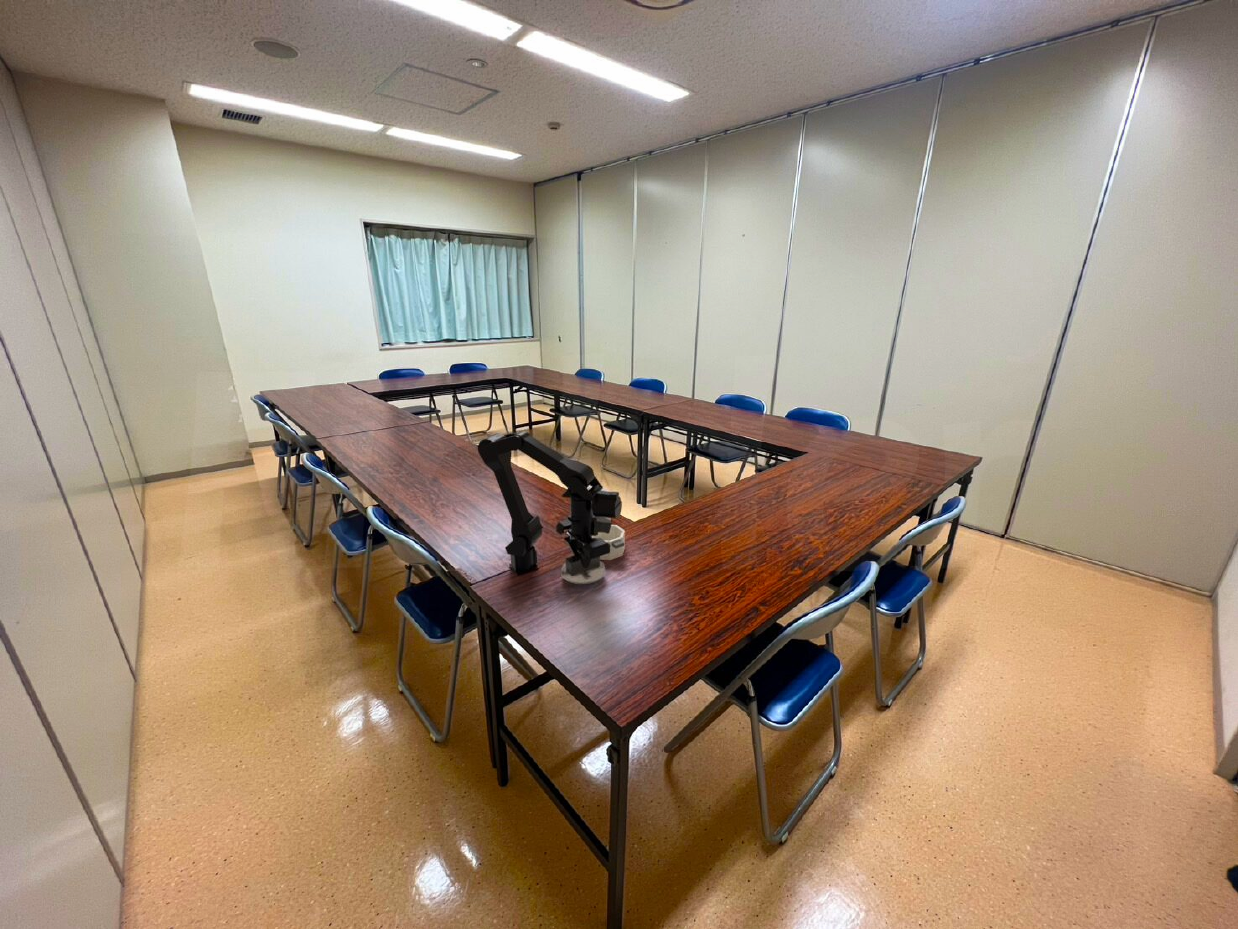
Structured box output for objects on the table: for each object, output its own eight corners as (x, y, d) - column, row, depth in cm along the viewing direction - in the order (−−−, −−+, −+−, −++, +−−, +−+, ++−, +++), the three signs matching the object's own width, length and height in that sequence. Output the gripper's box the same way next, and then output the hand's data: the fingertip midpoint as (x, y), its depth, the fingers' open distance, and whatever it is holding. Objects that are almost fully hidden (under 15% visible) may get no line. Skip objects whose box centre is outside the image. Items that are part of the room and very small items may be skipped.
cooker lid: (575, 589, 122) (574, 572, 120) (553, 568, 131) (552, 553, 129) (613, 574, 128) (613, 558, 126) (590, 556, 137) (589, 540, 136)
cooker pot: (604, 566, 136) (604, 548, 134) (577, 545, 147) (577, 528, 145) (635, 555, 142) (635, 537, 140) (607, 535, 153) (606, 519, 151)
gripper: (627, 518, 121) (627, 571, 126) (588, 494, 135) (590, 543, 140) (590, 529, 115) (591, 585, 120) (554, 503, 129) (556, 554, 134)
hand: (583, 565), depth 129 cm, fingers closed on cooker lid, 3 cm apart
